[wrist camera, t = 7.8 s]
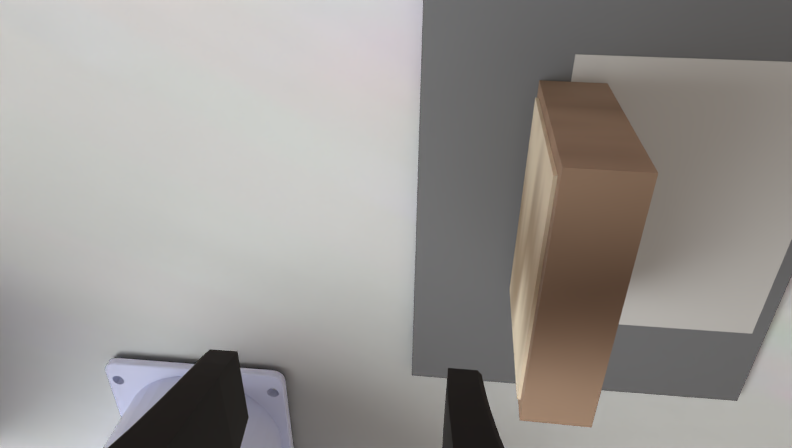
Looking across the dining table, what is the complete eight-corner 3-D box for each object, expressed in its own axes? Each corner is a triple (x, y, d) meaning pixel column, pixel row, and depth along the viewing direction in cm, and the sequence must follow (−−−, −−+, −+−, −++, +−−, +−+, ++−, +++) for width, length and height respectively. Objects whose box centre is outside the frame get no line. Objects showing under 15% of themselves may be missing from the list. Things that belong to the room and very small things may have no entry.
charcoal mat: (733, 393, 24) (737, 401, 24) (412, 368, 25) (411, 375, 25) (914, -33, 16) (925, -31, 16) (425, -45, 17) (424, -42, 17)
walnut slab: (565, 295, 22) (591, 427, 17) (507, 291, 22) (516, 419, 17) (607, 83, 18) (658, 173, 13) (535, 80, 18) (557, 167, 13)
